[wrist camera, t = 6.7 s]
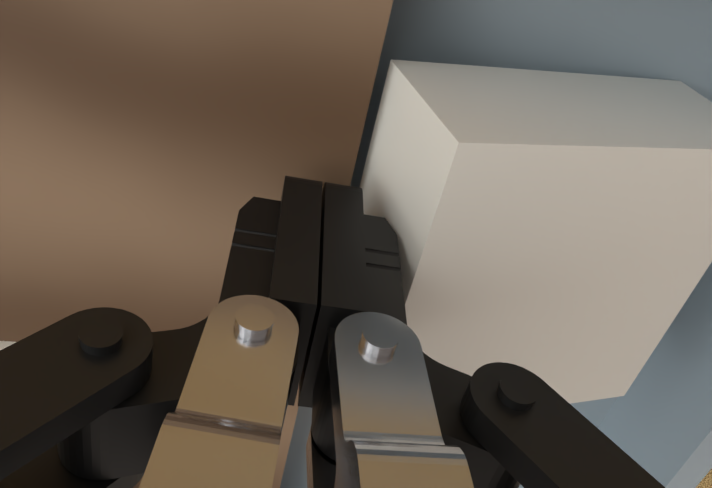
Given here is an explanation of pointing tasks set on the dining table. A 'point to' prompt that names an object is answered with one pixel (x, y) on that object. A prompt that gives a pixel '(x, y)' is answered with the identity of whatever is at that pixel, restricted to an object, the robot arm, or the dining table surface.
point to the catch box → (600, 57)
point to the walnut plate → (164, 144)
